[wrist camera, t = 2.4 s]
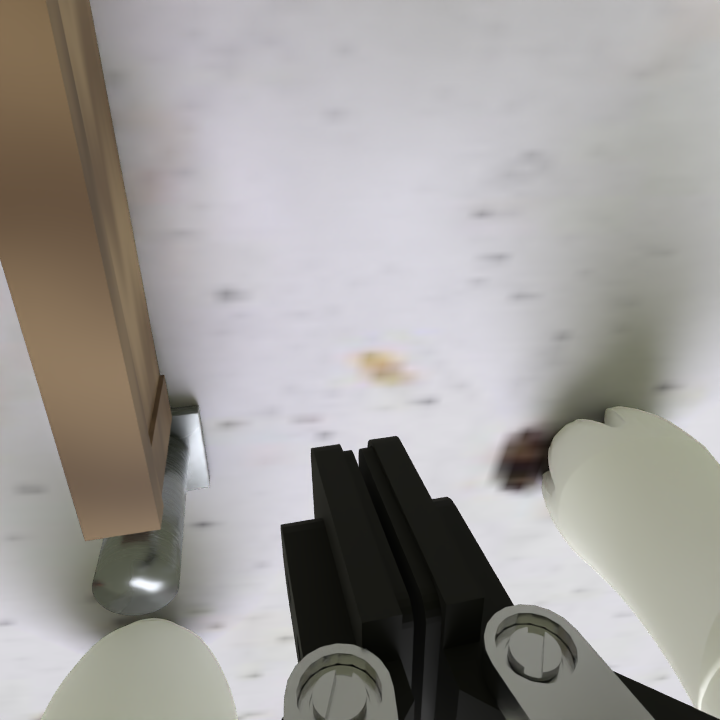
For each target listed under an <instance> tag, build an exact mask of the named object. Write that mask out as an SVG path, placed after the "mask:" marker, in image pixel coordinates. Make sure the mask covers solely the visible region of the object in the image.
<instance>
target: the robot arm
mask: <svg viewBox="0 0 720 720" xmlns="http://www.w3.org/2000/svg"><path fill="white" fill-rule="evenodd" d="M311 466H312V483H313V500H314V517H315V519H312V520H306V521H300V522H294V523H288V524H282V525H281V537H282V548H283V559H284V568H285V576H286V584H287V592H288V599H289V606H290V612H291V619H292V625H293V632H294V638H295V645H296V652H297V658H298V664H297V665H296V666H295V668H294V669H293V671H292V673H291V675H290V677H289V678H288V680H287V685H286V690H285V695H284V717H283V718H282V720H720V719H718V718H716V717H714V716H712V715H709V714H707V713H705V712H703V711H700V710H698V709H696V708H694V707H692V706H689V705H687V704H685V703H683V702H681V701H678V700H676V699H674V698H672V697H669V696H667V695H665V694H663V693H661V692H658V691H656V690H654V689H652V688H650V687H647V686H645V685H643V684H641V683H638V682H636V681H634V680H632V679H630V678H627V677H625V676H623V675H621V674H619V673H616V672H614V671H612V670H611V669H610V667H609V666H608V665H607V664H606V663H605V662H604V660H603V659H602V658H601V657H600V656H599V655H598V654H597V652H596V651H595V650H594V649H593V648H592V647H591V645H590V644H589V643H588V642H587V641H586V640H585V639H584V637H583V636H582V635H581V634H580V633H579V632H578V630H577V629H576V628H575V627H573V626H572V625H571V624H570V623H569V622H568V621H567V620H566V619H565V618H563V617H561V616H560V615H558V614H556V613H554V612H552V611H551V610H548V609H545V608H542V607H538V606H535V605H522V604H519V605H513V603H512V601H511V600H510V598H509V596H508V595H507V593H506V591H505V589H504V588H503V586H502V584H501V583H500V581H499V579H498V577H497V576H496V574H495V572H494V571H493V569H492V567H491V565H490V564H489V562H488V560H487V559H486V557H485V555H484V553H483V552H482V550H481V548H480V547H479V545H478V543H477V542H476V540H475V538H474V536H473V535H472V533H471V531H470V530H469V528H468V526H467V524H466V523H465V521H464V519H463V518H462V516H461V514H460V512H459V511H458V509H457V507H456V506H455V504H454V503H453V501H452V500H451V499H450V498H448V497H443V498H437V499H431V497H430V495H429V493H428V491H427V489H426V487H425V486H424V484H423V482H422V480H421V478H420V476H419V474H418V472H417V471H416V469H415V467H414V465H413V463H412V461H411V459H410V458H409V456H408V454H407V452H406V450H405V448H404V446H403V445H402V443H401V441H400V439H399V438H398V437H397V436H393V437H386V438H379V439H372V440H369V441H368V448H362V449H359V467H358V464H357V461H356V459H355V456H354V454H353V452H352V450H349V451H343V450H342V448H341V445H340V444H337V445H330V446H323V447H316V448H311Z"/></svg>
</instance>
